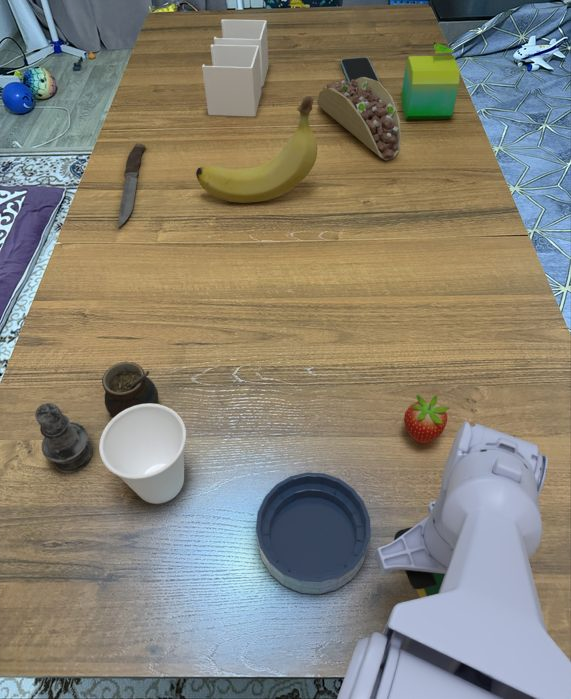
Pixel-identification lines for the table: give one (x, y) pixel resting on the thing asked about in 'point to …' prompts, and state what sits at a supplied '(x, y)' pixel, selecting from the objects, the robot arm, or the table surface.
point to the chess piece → (63, 439)
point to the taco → (364, 113)
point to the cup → (146, 450)
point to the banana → (267, 168)
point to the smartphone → (358, 68)
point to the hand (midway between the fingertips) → (436, 572)
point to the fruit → (425, 419)
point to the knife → (130, 182)
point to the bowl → (313, 532)
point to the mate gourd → (127, 387)
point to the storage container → (237, 68)
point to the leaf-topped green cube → (430, 85)
